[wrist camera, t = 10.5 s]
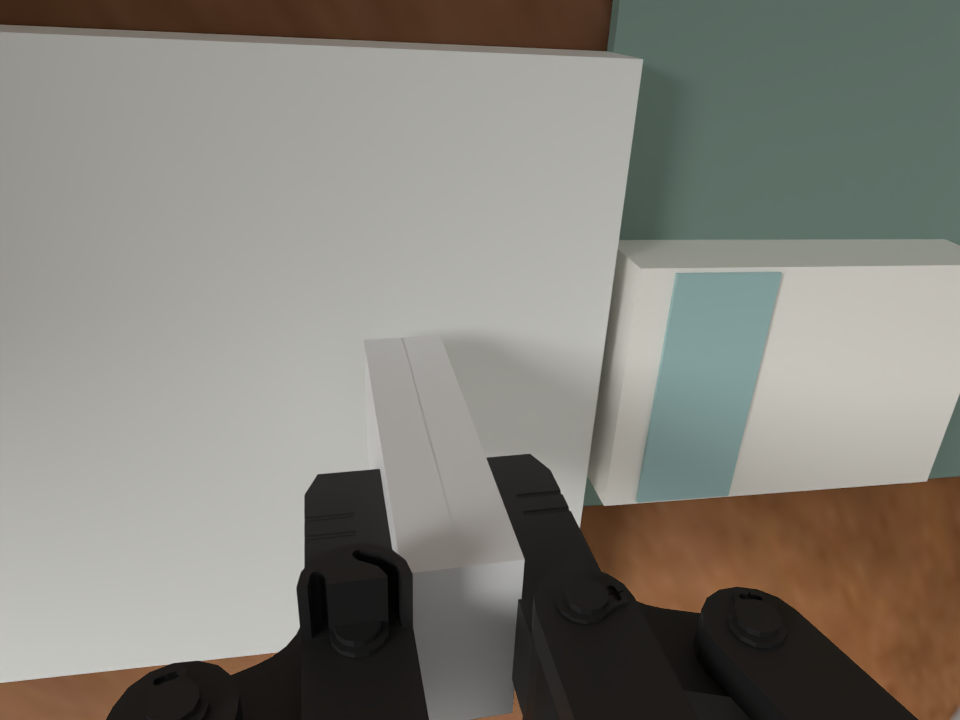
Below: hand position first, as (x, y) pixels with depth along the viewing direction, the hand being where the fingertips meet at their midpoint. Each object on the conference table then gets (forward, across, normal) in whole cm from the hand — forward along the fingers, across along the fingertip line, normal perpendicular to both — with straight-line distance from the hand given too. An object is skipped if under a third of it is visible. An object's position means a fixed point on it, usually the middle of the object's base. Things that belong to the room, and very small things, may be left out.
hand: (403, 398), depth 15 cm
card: (+2, +10, -1) cm, 10 cm away
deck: (+3, -3, 0) cm, 4 cm away
